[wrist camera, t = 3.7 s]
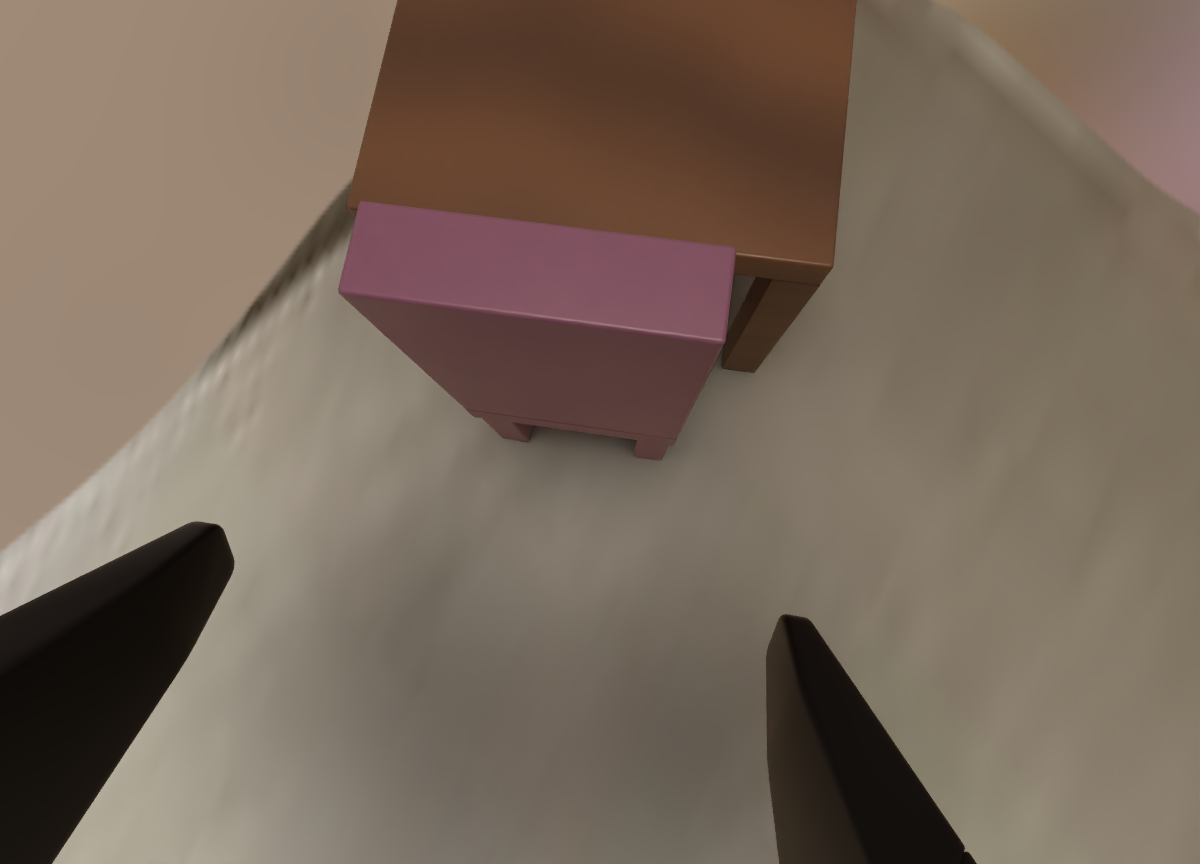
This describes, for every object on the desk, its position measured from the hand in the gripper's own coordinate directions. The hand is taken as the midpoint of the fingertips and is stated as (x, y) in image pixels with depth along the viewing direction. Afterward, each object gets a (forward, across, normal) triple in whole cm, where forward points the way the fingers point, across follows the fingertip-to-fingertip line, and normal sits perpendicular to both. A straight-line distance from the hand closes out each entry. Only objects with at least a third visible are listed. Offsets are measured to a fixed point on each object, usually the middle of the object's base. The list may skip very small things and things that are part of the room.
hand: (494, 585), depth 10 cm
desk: (+16, 0, 0) cm, 17 cm away
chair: (+13, 0, +3) cm, 14 cm away
